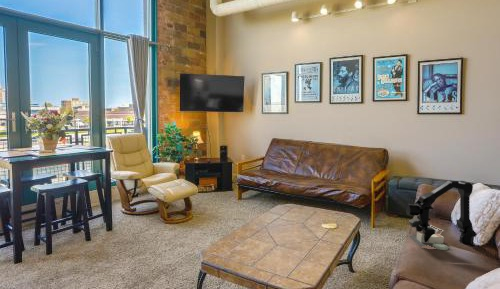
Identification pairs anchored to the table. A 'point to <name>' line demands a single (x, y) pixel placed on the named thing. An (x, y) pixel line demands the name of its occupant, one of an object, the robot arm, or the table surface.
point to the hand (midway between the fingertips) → (422, 239)
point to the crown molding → (436, 229)
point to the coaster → (440, 246)
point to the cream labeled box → (436, 239)
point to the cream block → (420, 237)
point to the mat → (423, 243)
